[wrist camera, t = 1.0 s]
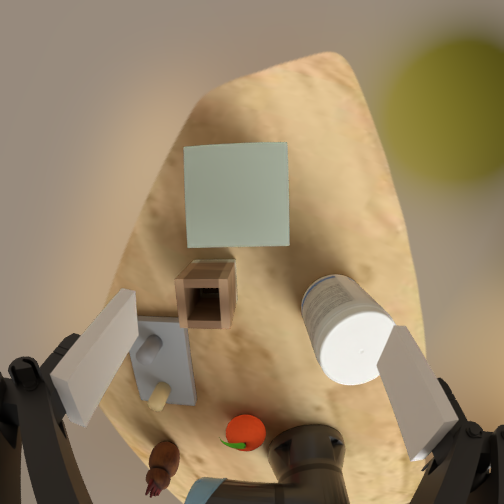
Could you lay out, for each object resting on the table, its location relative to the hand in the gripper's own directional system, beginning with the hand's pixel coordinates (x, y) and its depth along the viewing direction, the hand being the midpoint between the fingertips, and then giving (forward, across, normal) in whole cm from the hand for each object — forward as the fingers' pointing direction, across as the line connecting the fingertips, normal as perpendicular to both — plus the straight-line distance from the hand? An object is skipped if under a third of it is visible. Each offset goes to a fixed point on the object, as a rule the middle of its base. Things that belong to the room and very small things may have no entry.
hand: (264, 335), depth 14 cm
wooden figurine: (+21, +13, +49) cm, 55 cm away
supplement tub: (+27, -12, +12) cm, 32 cm away
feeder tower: (+29, +3, -1) cm, 29 cm away
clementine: (+23, -2, +37) cm, 43 cm away
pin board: (+24, +13, +26) cm, 38 cm away
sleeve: (+27, +6, +11) cm, 30 cm away
